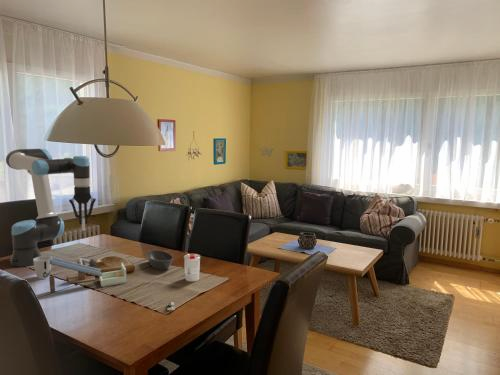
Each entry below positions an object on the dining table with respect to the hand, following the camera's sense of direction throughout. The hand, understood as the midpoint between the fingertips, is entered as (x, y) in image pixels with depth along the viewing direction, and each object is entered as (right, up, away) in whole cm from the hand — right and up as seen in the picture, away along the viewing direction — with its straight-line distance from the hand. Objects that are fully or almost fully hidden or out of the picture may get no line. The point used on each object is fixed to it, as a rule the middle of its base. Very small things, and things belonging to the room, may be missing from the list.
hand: (83, 229), depth 194 cm
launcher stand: (0, -24, -12) cm, 27 cm away
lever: (+2, -16, -14) cm, 21 cm away
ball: (+22, -22, -10) cm, 33 cm away
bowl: (+37, -22, +12) cm, 45 cm away
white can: (+59, -25, -6) cm, 64 cm away
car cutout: (+55, -30, -41) cm, 75 cm away
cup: (-18, -24, -6) cm, 30 cm away
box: (+20, -24, -11) cm, 33 cm away
